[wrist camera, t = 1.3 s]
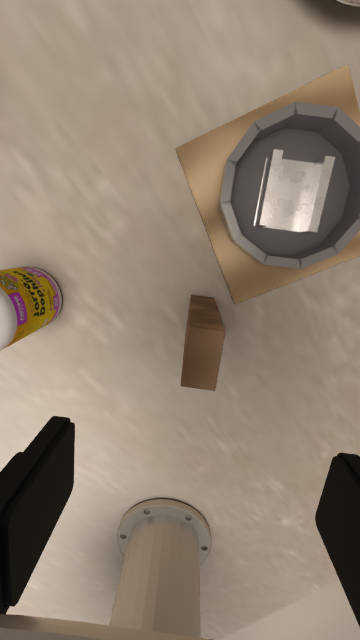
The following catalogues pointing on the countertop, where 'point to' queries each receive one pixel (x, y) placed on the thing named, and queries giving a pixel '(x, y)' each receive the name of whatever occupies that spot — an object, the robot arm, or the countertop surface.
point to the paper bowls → (350, 2)
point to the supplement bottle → (26, 303)
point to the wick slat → (202, 344)
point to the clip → (292, 193)
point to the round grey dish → (300, 145)
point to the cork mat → (206, 174)
